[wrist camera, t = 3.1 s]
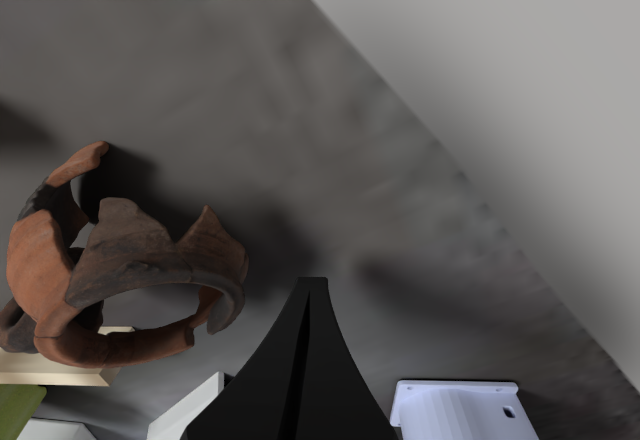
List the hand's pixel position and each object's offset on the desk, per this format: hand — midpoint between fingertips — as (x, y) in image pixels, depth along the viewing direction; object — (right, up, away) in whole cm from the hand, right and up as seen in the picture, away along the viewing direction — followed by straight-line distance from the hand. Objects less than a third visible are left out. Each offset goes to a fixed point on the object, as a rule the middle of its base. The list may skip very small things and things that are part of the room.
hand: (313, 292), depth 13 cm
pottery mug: (-9, +3, +3) cm, 10 cm away
